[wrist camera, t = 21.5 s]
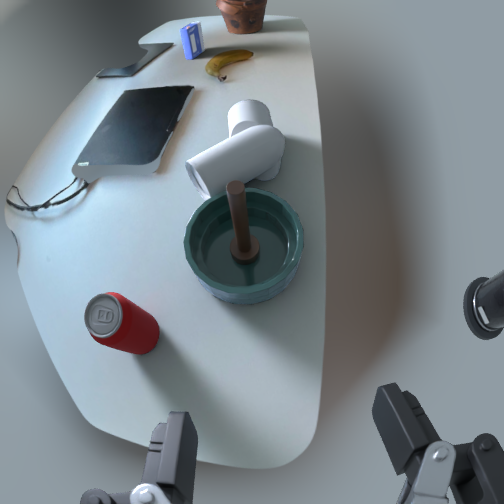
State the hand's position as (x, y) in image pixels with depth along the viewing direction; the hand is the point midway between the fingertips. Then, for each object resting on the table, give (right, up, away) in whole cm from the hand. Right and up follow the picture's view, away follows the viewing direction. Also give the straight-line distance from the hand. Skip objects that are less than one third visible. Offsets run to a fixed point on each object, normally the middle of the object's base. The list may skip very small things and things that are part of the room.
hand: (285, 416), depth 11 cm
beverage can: (-18, -6, +30) cm, 36 cm away
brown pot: (-5, +92, +76) cm, 119 cm away
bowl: (-2, +6, +35) cm, 36 cm away
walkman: (-20, +71, +67) cm, 100 cm away
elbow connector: (-4, +23, +43) cm, 49 cm away
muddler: (-2, +7, +34) cm, 35 cm away
